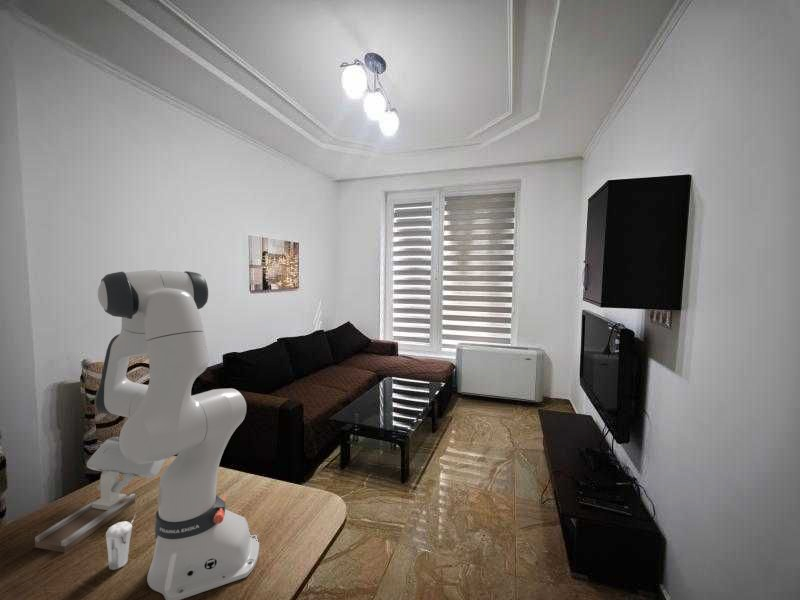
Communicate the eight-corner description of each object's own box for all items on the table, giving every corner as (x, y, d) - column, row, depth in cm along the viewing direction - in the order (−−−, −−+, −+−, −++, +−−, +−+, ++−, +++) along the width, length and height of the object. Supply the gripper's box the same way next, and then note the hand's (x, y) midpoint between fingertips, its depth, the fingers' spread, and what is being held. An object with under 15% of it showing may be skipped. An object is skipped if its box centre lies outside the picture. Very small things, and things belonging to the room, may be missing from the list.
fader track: (110, 498, 96) (110, 489, 96) (135, 502, 95) (135, 493, 95) (34, 547, 79) (35, 536, 78) (64, 552, 78) (64, 541, 77)
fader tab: (110, 496, 95) (110, 468, 94) (126, 498, 94) (127, 470, 94) (91, 507, 90) (92, 478, 89) (109, 510, 89) (109, 480, 89)
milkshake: (139, 559, 77) (140, 518, 76) (109, 576, 72) (110, 532, 72) (130, 550, 79) (131, 509, 79) (101, 565, 75) (102, 522, 74)
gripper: (102, 431, 99) (65, 483, 90) (164, 439, 97) (133, 493, 88) (116, 439, 104) (82, 489, 95) (176, 447, 102) (147, 498, 92)
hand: (107, 491), depth 91 cm, fingers closed on fader tab, 3 cm apart
